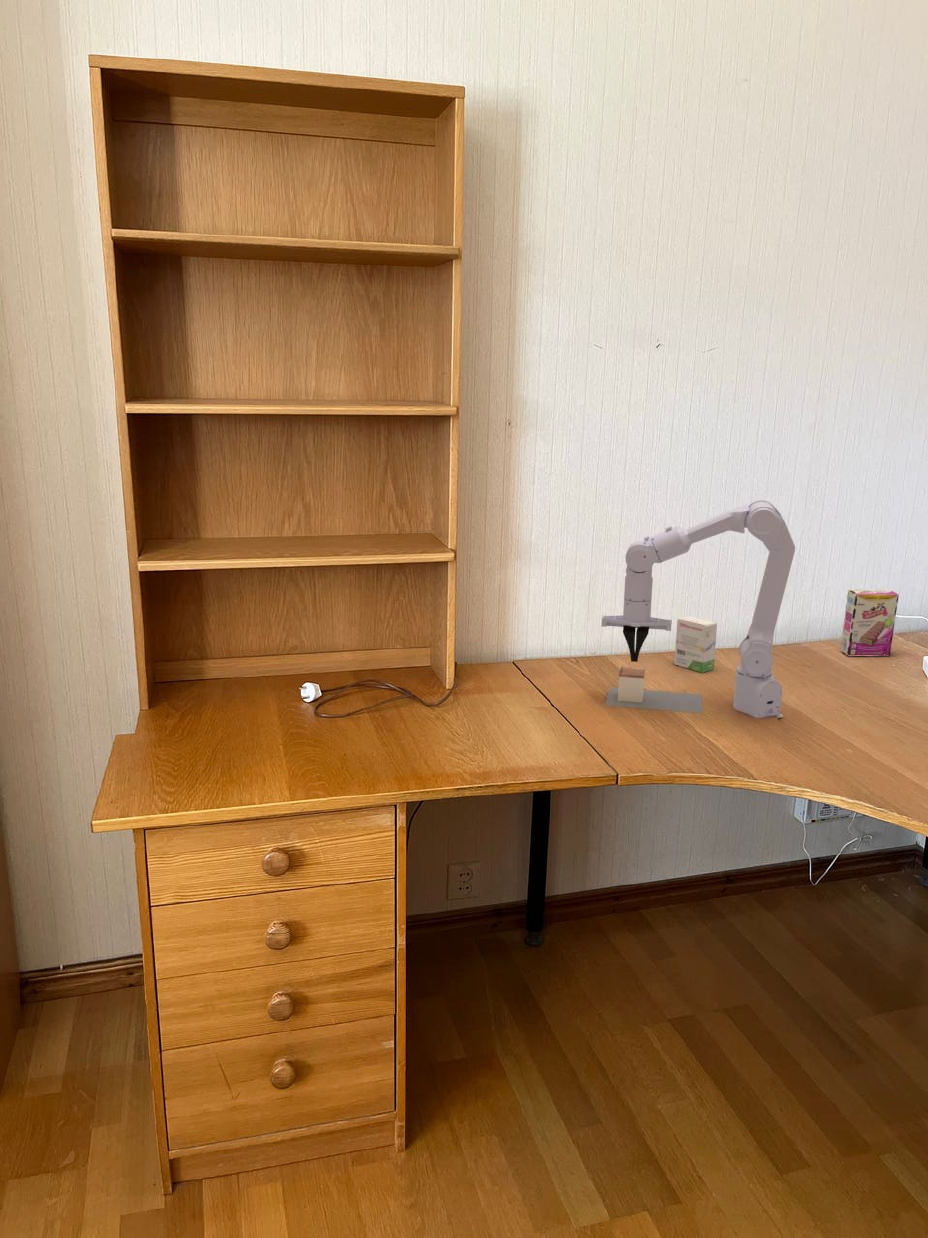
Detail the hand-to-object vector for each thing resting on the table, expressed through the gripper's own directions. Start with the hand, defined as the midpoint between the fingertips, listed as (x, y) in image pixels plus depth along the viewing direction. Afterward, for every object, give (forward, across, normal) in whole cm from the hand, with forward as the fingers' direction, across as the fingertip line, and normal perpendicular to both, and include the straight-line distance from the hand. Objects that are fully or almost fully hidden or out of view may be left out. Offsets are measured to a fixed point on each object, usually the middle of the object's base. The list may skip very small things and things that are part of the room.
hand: (634, 660), depth 207 cm
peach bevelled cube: (+8, 0, 0) cm, 8 cm away
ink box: (+10, +13, +29) cm, 33 cm away
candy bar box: (+10, +56, +50) cm, 76 cm away
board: (+9, +5, 0) cm, 11 cm away
